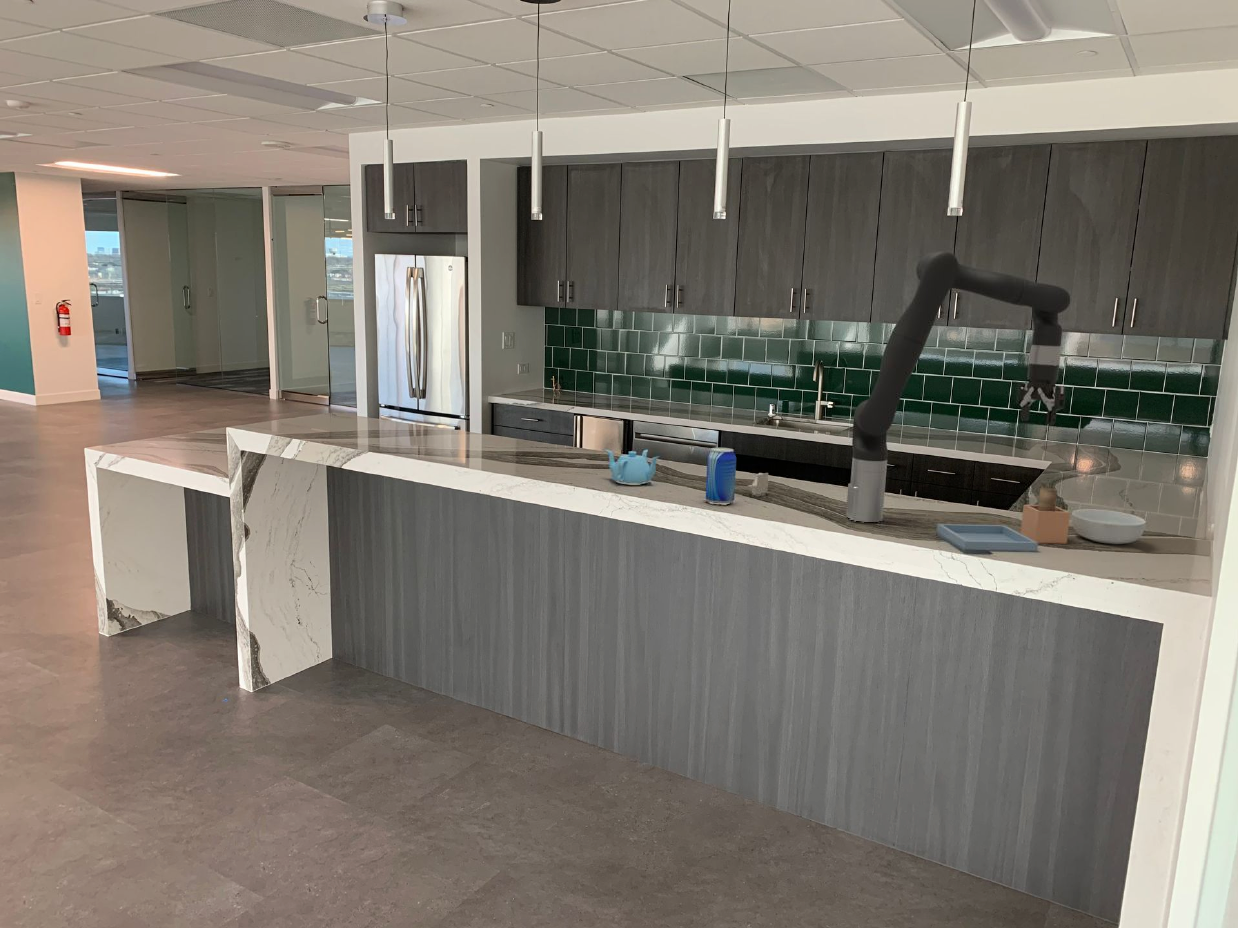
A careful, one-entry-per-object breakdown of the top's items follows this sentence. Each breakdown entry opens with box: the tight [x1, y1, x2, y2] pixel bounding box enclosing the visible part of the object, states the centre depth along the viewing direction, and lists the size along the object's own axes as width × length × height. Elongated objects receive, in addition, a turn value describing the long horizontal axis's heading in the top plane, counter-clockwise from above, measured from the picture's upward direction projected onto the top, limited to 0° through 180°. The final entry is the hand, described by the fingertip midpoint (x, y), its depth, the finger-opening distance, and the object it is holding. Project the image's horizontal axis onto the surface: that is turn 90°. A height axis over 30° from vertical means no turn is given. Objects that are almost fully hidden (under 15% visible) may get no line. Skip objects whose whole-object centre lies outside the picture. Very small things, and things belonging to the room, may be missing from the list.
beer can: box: [705, 447, 737, 504], centre depth 272 cm, size 8×8×16 cm
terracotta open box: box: [1020, 504, 1071, 545], centre depth 238 cm, size 8×8×9 cm
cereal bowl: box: [1070, 508, 1146, 545], centre depth 240 cm, size 17×17×7 cm
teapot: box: [605, 448, 661, 483], centre depth 299 cm, size 15×15×10 cm
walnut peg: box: [1037, 487, 1058, 511], centre depth 237 cm, size 4×4×13 cm
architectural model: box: [747, 472, 769, 494], centre depth 286 cm, size 3×7×7 cm, turn 137°
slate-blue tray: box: [935, 523, 1039, 555], centre depth 234 cm, size 18×18×3 cm
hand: (1037, 422), depth 251 cm, fingers open, 8 cm apart
